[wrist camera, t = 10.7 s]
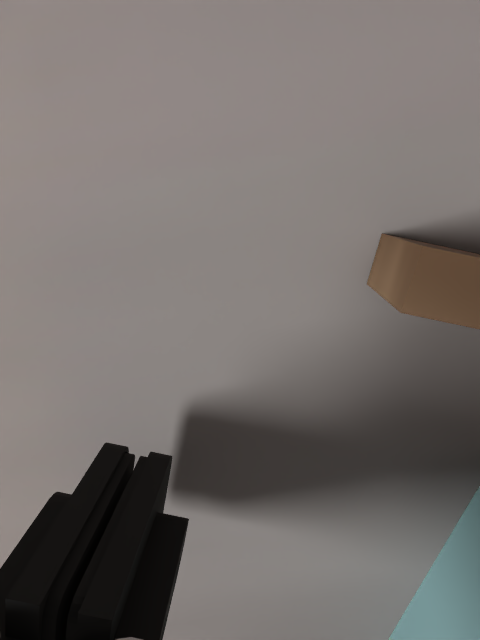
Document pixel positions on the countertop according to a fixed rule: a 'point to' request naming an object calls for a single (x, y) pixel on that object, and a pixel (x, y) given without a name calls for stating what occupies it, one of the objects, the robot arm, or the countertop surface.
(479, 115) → the countertop surface
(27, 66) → the countertop surface
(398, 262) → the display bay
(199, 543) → the countertop surface
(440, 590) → the carton
